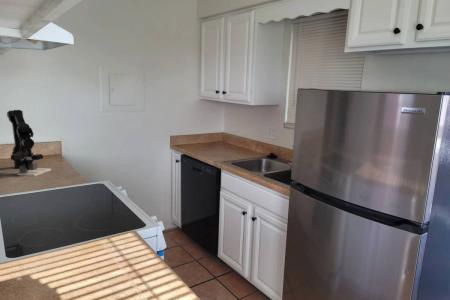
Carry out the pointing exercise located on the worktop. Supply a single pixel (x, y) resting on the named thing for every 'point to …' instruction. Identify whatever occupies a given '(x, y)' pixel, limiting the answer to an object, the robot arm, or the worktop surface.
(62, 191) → the worktop surface
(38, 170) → the switch plate
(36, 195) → the worktop surface
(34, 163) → the slider on
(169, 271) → the worktop surface
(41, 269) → the worktop surface
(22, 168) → the slider
